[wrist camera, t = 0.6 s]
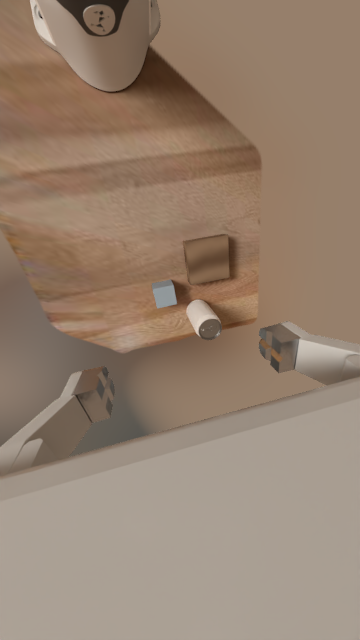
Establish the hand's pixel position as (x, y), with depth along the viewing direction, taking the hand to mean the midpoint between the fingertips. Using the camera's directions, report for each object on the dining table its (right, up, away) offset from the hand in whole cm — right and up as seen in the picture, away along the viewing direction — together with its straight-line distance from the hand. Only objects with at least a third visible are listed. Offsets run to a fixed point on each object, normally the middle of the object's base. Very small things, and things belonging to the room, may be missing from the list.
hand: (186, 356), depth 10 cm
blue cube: (-5, +10, +41) cm, 42 cm away
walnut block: (+6, +18, +39) cm, 43 cm away
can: (+5, +5, +45) cm, 45 cm away
